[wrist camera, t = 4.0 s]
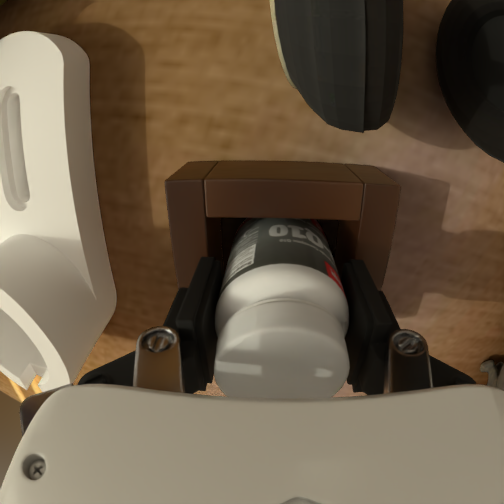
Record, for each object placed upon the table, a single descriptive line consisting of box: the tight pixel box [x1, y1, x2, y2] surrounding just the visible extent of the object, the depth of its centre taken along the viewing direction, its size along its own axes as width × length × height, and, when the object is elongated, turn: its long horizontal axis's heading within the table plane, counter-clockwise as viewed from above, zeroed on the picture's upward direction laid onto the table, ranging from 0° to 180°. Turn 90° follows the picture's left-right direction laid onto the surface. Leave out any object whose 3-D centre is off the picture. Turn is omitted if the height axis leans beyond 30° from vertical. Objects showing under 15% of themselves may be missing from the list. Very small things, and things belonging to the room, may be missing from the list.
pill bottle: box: [214, 218, 350, 399], centre depth 12 cm, size 5×5×8 cm
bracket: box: [0, 31, 117, 392], centre depth 12 cm, size 20×9×7 cm, turn 179°
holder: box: [165, 161, 401, 291], centre depth 14 cm, size 9×9×4 cm
